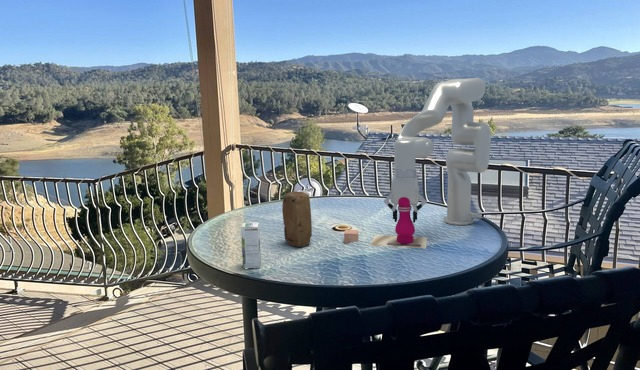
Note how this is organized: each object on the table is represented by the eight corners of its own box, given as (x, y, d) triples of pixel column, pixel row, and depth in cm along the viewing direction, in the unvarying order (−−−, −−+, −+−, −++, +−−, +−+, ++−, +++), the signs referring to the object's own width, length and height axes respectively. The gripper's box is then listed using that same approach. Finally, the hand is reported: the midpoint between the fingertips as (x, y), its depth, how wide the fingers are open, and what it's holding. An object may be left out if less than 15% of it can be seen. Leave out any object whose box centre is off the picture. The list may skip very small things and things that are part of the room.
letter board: (427, 239, 180) (427, 237, 179) (425, 250, 167) (425, 248, 167) (375, 236, 185) (375, 234, 185) (370, 247, 172) (370, 245, 172)
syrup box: (244, 263, 161) (241, 222, 158) (261, 262, 161) (259, 221, 158) (243, 269, 155) (240, 227, 152) (261, 268, 156) (258, 226, 153)
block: (314, 244, 178) (312, 193, 174) (298, 249, 173) (296, 196, 169) (296, 238, 186) (294, 189, 182) (281, 243, 181) (278, 192, 177)
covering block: (358, 239, 183) (358, 229, 182) (357, 243, 178) (357, 233, 177) (345, 239, 183) (345, 229, 183) (344, 243, 178) (344, 233, 178)
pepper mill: (415, 244, 171) (414, 191, 167) (395, 244, 173) (394, 191, 169) (415, 238, 178) (414, 186, 174) (395, 238, 180) (394, 187, 176)
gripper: (429, 171, 172) (429, 219, 175) (382, 171, 176) (383, 217, 180) (428, 175, 165) (428, 225, 168) (379, 175, 169) (380, 223, 173)
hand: (405, 220), depth 174 cm, fingers open, 6 cm apart
